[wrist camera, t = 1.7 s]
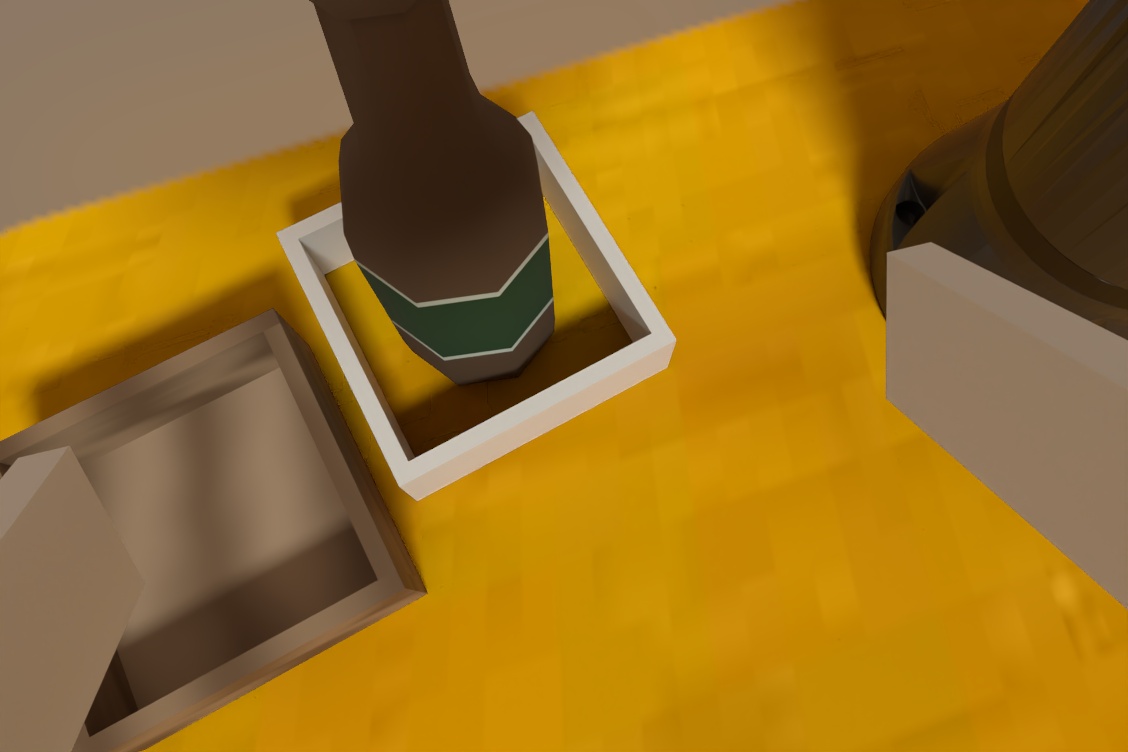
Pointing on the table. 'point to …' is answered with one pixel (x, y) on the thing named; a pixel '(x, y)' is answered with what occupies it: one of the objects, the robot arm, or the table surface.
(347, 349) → the white corral
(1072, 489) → the robot arm
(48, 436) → the wooden bin
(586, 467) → the table surface
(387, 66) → the beer bottle
